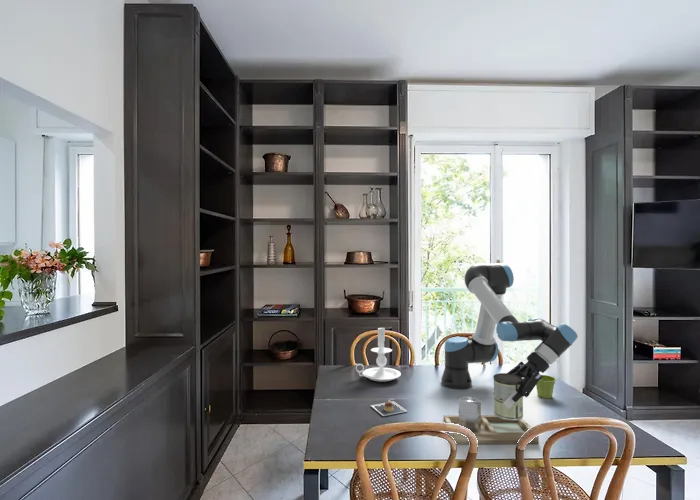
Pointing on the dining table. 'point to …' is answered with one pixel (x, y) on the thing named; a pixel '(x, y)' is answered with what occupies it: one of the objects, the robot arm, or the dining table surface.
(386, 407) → the dessert
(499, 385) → the coffee can
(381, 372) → the candlestick
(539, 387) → the plant pot
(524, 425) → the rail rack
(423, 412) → the dining table surface
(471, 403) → the clear glass jar
